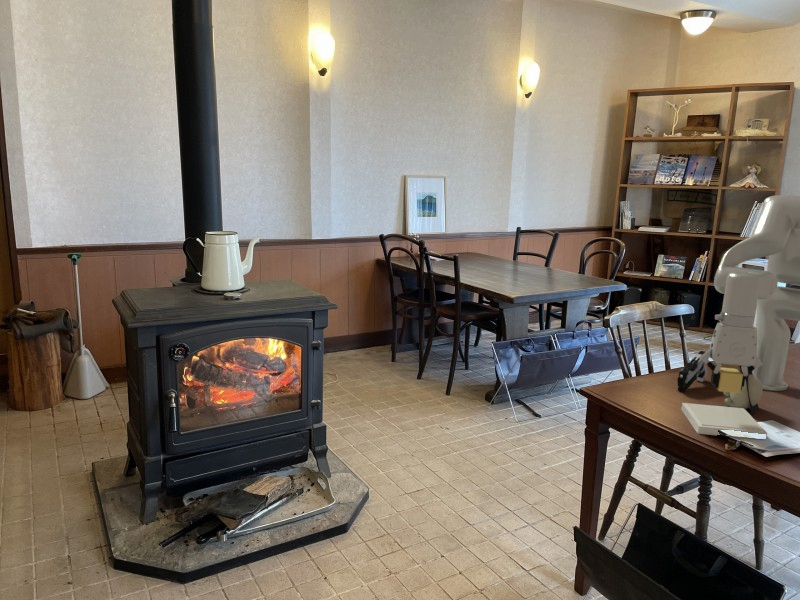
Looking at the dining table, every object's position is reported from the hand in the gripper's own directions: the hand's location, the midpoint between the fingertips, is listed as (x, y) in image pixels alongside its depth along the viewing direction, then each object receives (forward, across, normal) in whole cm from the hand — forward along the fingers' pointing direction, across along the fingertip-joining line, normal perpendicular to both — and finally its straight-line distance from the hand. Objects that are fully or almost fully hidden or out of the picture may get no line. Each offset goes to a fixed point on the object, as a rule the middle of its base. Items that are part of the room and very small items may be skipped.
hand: (726, 387), depth 157 cm
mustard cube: (+1, 0, 0) cm, 1 cm away
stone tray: (+11, 0, 0) cm, 11 cm away
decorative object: (+11, +9, +13) cm, 19 cm away
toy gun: (+11, 0, +29) cm, 31 cm away
